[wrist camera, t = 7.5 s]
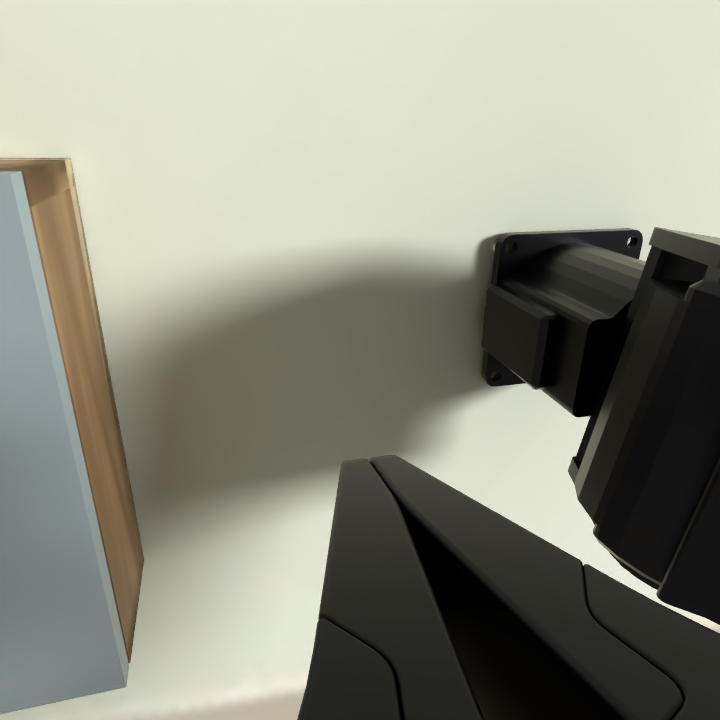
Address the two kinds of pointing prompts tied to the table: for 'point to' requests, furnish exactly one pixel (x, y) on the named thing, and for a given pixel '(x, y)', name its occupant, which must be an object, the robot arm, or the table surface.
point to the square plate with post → (45, 499)
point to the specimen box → (86, 370)
